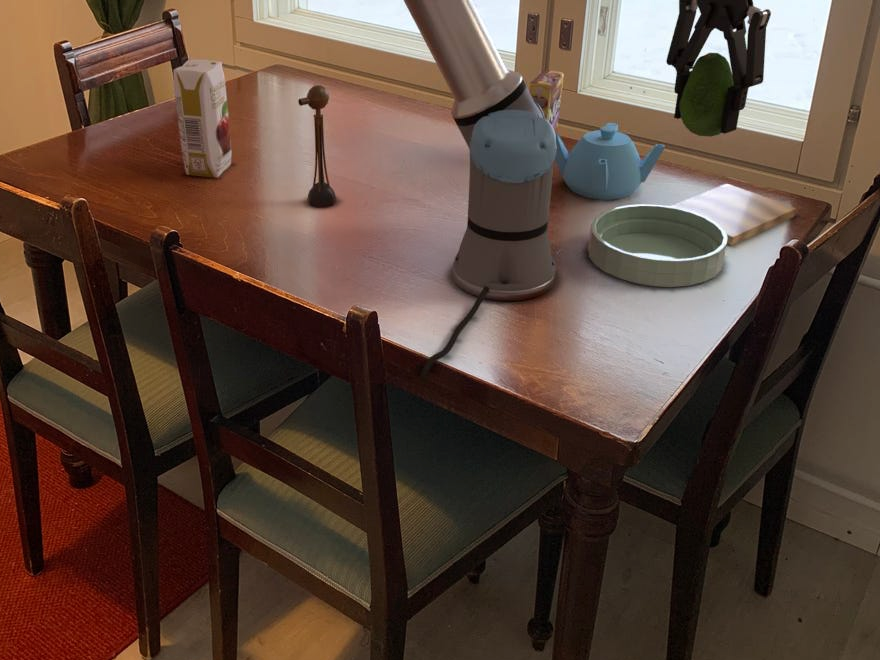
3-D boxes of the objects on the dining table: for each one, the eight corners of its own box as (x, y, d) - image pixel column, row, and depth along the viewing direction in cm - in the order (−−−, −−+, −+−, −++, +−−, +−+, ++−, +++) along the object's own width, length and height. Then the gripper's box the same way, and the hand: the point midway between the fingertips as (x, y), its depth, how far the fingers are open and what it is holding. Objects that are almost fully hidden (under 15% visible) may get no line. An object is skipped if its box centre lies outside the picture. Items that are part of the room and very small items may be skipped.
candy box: (543, 167, 187) (551, 85, 178) (521, 164, 188) (527, 82, 179) (556, 152, 194) (564, 71, 185) (535, 148, 195) (542, 68, 186)
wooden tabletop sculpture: (313, 211, 170) (307, 93, 158) (297, 202, 173) (291, 85, 161) (341, 202, 173) (337, 86, 161) (325, 194, 176) (321, 79, 164)
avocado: (686, 123, 154) (698, 43, 147) (736, 132, 151) (751, 50, 144) (667, 139, 149) (679, 56, 142) (719, 149, 145) (734, 64, 138)
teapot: (663, 194, 177) (673, 134, 171) (596, 211, 171) (604, 149, 165) (607, 166, 188) (614, 108, 182) (542, 180, 182) (547, 122, 175)
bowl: (665, 302, 144) (670, 274, 142) (561, 253, 157) (563, 226, 155) (748, 262, 155) (754, 235, 153) (644, 219, 168) (648, 194, 165)
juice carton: (180, 176, 182) (167, 70, 171) (199, 159, 189) (187, 56, 178) (219, 180, 181) (208, 73, 170) (236, 163, 188) (227, 59, 177)
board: (731, 245, 160) (733, 237, 159) (660, 217, 169) (662, 209, 168) (794, 216, 169) (796, 208, 169) (724, 191, 178) (726, 183, 177)
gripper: (815, -35, 131) (779, 136, 144) (688, -57, 144) (666, 101, 157) (781, -27, 127) (747, 148, 140) (653, -50, 141) (634, 111, 154)
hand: (704, 123), depth 149 cm, fingers closed on avocado, 8 cm apart
